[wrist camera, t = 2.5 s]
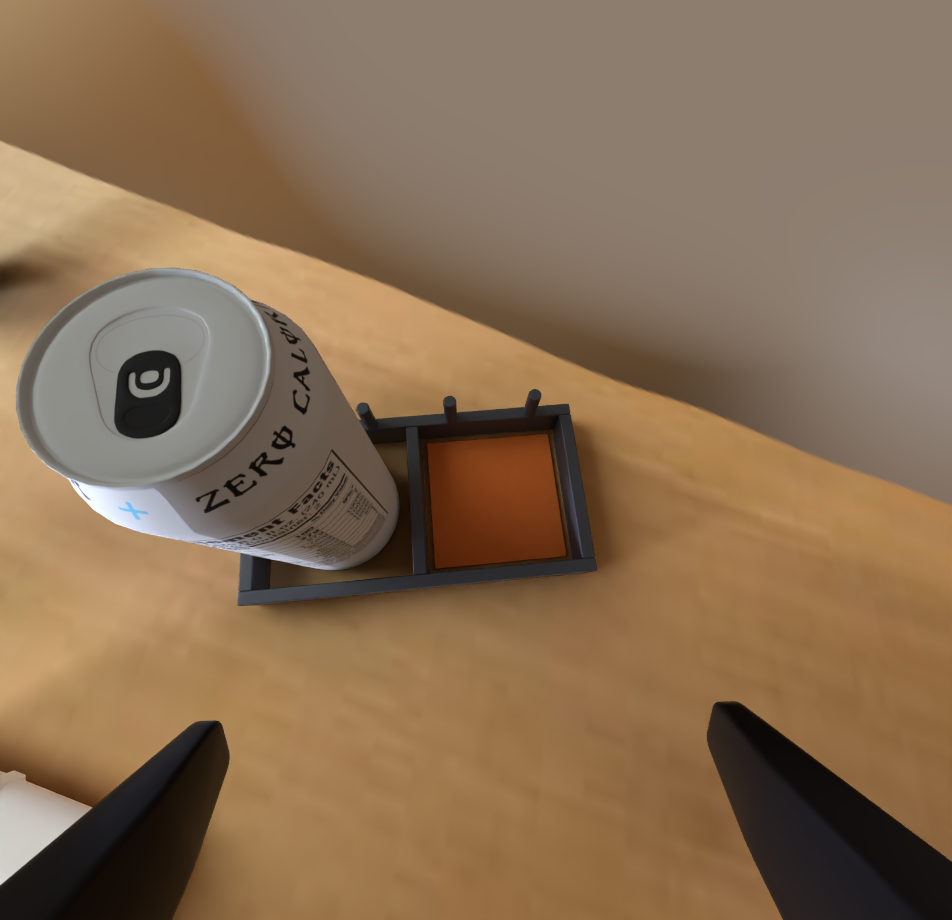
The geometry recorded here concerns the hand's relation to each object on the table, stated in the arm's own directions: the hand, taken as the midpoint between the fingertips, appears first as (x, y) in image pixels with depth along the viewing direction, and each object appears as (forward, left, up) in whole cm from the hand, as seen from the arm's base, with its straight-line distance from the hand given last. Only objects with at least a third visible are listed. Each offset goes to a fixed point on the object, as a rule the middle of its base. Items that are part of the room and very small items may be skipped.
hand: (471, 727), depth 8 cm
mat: (+6, +4, -14) cm, 16 cm away
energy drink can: (0, +9, -14) cm, 17 cm away
